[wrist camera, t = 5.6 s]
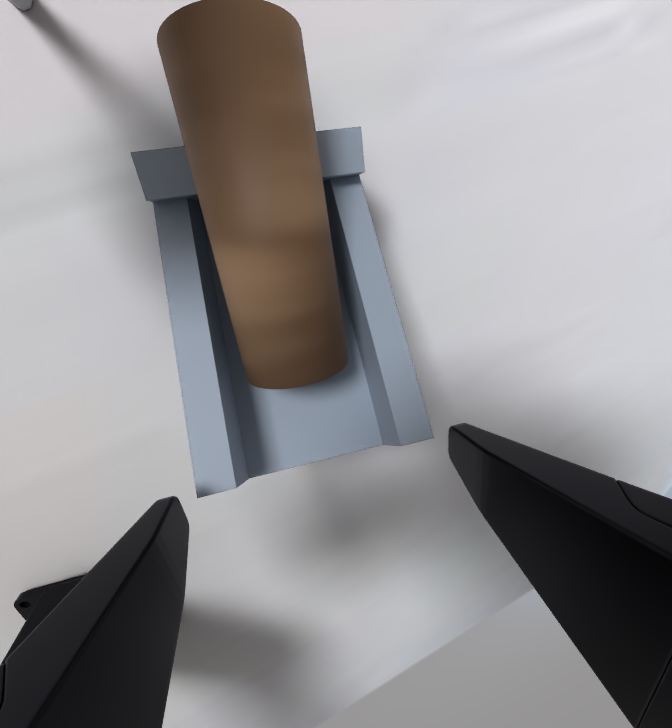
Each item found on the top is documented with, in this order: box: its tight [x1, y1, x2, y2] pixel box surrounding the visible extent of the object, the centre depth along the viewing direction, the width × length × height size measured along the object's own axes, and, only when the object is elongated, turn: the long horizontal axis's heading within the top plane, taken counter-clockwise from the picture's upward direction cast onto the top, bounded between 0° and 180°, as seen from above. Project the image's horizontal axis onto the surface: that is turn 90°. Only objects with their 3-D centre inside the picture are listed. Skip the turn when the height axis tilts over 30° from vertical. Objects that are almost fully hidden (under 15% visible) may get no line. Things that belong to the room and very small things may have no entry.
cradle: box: [131, 127, 434, 498], centre depth 12 cm, size 11×7×8 cm, turn 8°
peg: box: [157, 0, 349, 389], centre depth 9 cm, size 3×3×8 cm
